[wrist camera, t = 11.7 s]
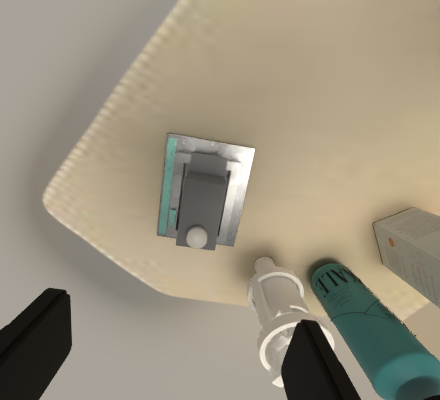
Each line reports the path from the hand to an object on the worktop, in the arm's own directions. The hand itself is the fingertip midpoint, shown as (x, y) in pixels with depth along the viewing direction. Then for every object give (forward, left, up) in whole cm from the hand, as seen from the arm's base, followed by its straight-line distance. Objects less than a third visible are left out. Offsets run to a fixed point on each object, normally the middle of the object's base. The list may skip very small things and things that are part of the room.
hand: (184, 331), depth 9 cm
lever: (0, 0, -21) cm, 21 cm away
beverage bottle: (+10, +21, -22) cm, 32 cm away
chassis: (0, 0, -22) cm, 22 cm away
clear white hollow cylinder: (+10, +11, -22) cm, 27 cm away
